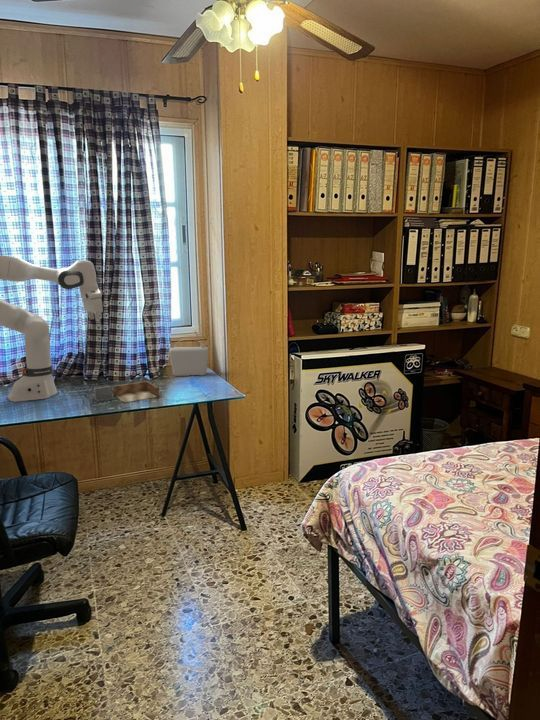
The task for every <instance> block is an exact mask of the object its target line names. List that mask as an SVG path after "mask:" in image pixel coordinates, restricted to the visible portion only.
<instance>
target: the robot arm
mask: <svg viewBox="0 0 540 720" xmlns="http://www.w3.org/2000/svg"><path fill="white" fill-rule="evenodd" d="M0 280H2V281H8V282H26V281H29V280H41V281H47V282H48V281H49V282H53V283H56V284H57V285H58V286H60V287H61V288H62V289H63V290H73V289H75V288H79V292H80V293H79V294H80V297H81V298H82V304H83V309H84V310H85V311H87V314H88V316H89V319H90V320H94V319H95V322H96V323H98V322H101V319H100V318H101V314H102V313H103V311H104V308H103V307H104V306H103V299H102V297H103V296H102V292H101V290H100V289H99V285H98V282H97V274H96V269H95V266H94V263H93V262H92V261H90V260H85V259H84V260H83V259H78V260H76V261H75V262H74V263H73V264H72V265H70V266H68V267H67V266H64V267H63V266H62V267H59V268H58V267H57V268H52V267H47V266H39V265H36V264H33V263H30V262H28V261H26V260H25V259H21V258H18V257H14V256H9V255H1V254H0ZM0 326H2V327H4V328H6V329H9V330H13V331H15V332H18V333H20V334H23V336H24V348H25V349H24V351H25V361H26V367H21V368H20V371H21V372H22V374H23V375H22V376H21V377H20V378H19V379H18V380H17V381H15V382H14V384H13V385H12V390H11V393H9V394H8V395H7V399H8V401H10V402H14V403H15V402H16V403H17V402H26V401H35V400H43V399H48V398H50V397H53V396H55V395H57V394H58V390H57V388H56V385H55V380H54V367H53V365H52V358H51V357H52V356H51V342H50V341H51V340H50V335H51V334H50V325H49V324H48V322H47V321H46V320H45V319H44V318H43V317H41V316H40V315H39V314H35V313H33V312H30V311H28V310H26V309H24V308H21V307H19V306H17V305H15V304H12V303H10V302H7V301H6V300H4V299H1V298H0Z"/></svg>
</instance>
